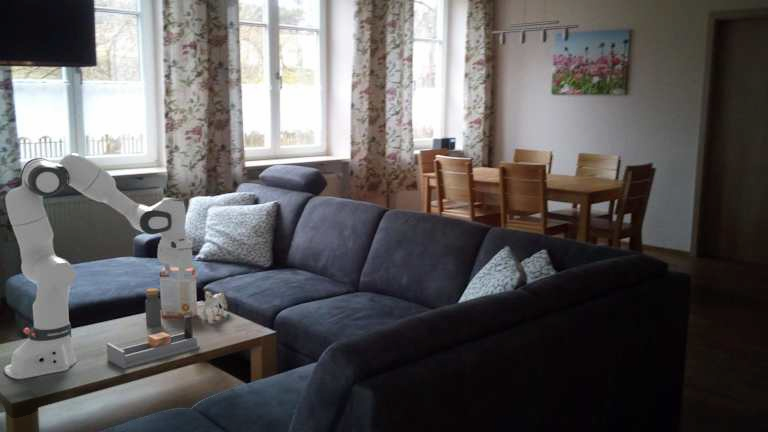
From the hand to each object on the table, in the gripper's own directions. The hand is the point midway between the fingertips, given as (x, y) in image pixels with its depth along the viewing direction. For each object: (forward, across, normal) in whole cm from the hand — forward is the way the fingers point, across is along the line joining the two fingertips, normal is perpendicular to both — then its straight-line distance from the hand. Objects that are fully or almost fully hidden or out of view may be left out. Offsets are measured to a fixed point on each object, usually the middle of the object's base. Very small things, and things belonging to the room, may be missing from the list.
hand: (174, 276), depth 265 cm
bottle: (+26, -26, +4) cm, 37 cm away
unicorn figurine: (+26, -14, +28) cm, 40 cm away
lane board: (+26, +6, -11) cm, 29 cm away
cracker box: (+26, -30, +18) cm, 43 cm away
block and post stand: (+25, +6, -4) cm, 26 cm away
